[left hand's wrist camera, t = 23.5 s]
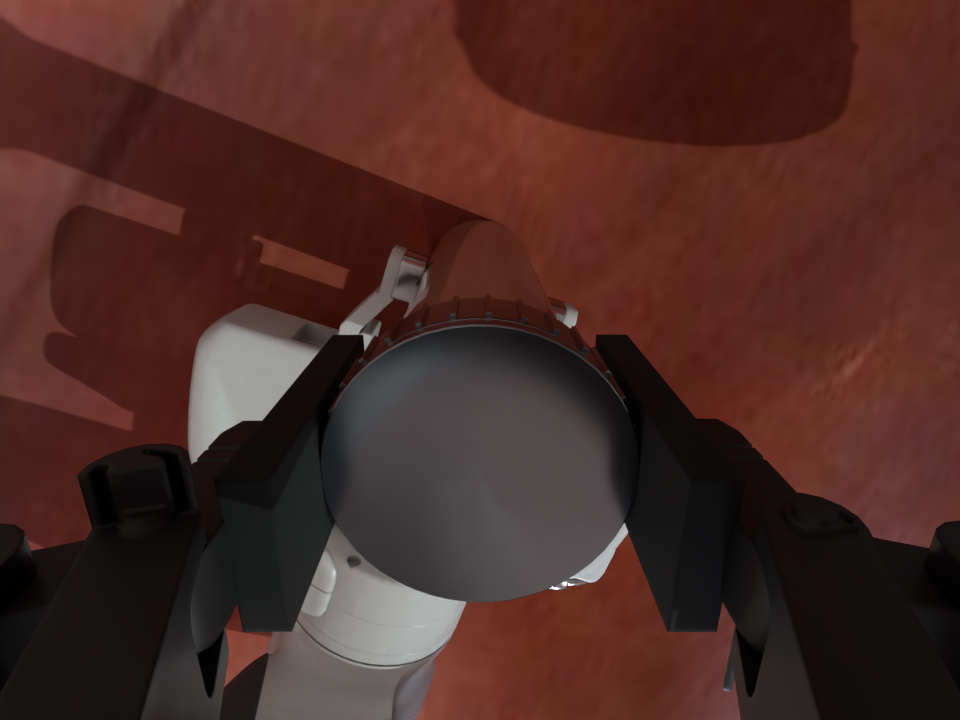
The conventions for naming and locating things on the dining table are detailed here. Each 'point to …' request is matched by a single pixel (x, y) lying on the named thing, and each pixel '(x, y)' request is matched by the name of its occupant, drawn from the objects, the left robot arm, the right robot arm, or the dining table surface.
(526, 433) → the lid
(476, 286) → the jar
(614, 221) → the dining table surface
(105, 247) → the dining table surface
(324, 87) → the dining table surface
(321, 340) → the right robot arm
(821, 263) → the dining table surface
